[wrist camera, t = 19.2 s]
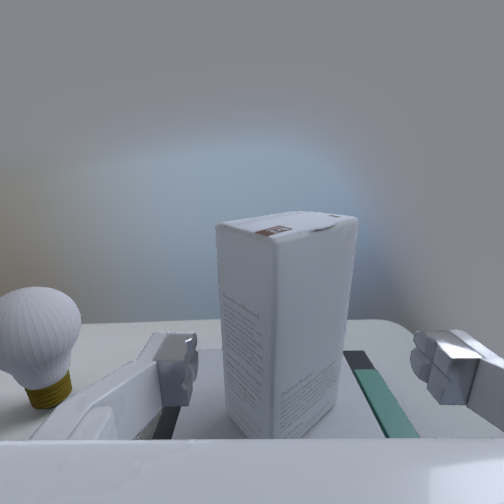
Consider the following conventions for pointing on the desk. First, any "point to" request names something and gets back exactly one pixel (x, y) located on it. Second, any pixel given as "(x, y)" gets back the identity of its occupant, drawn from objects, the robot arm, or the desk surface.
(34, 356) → the light bulb
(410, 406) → the desk surface
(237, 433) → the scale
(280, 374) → the cosmetic box
